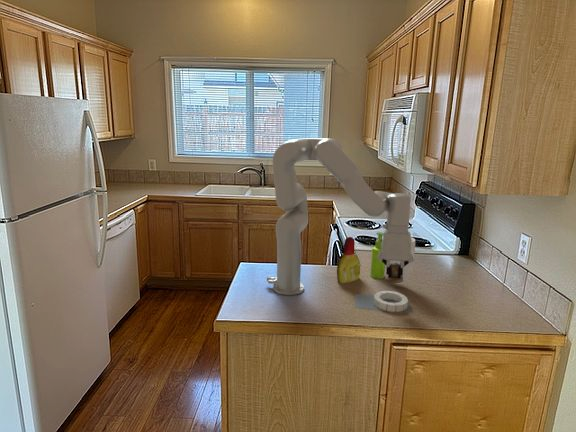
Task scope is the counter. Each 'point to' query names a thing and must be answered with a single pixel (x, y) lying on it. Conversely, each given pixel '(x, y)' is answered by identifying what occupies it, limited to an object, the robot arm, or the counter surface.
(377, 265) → the soap dispenser
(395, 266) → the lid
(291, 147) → the robot arm
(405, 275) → the cup
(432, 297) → the counter surface
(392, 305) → the ring
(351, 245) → the bottle
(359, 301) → the board
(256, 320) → the counter surface
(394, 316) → the counter surface
